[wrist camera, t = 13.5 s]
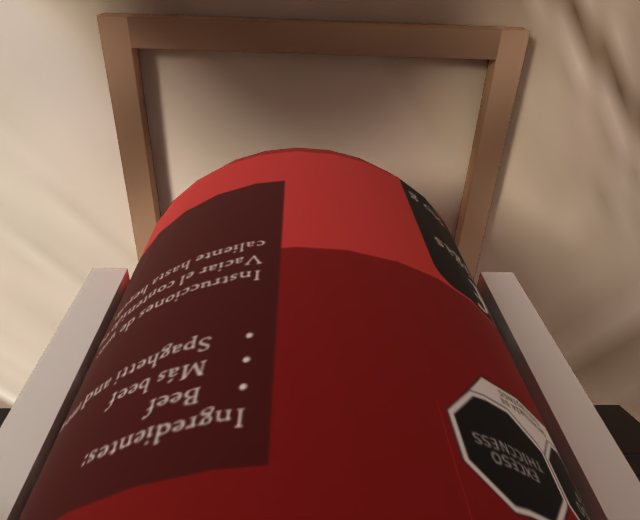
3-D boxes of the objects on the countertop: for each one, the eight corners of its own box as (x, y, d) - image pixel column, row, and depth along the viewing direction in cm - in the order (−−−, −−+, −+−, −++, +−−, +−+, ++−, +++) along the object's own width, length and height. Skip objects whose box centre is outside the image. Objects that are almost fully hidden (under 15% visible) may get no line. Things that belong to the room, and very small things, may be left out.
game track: (104, 12, 15) (96, 15, 14) (596, 30, 16) (606, 33, 15) (202, 617, 33) (200, 628, 33) (428, 614, 34) (430, 625, 33)
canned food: (421, 384, 17) (578, 975, 7) (159, 371, 16) (-32, 1006, 7) (489, 151, 12) (1041, 826, 3) (139, 120, 12) (-435, 866, 3)
